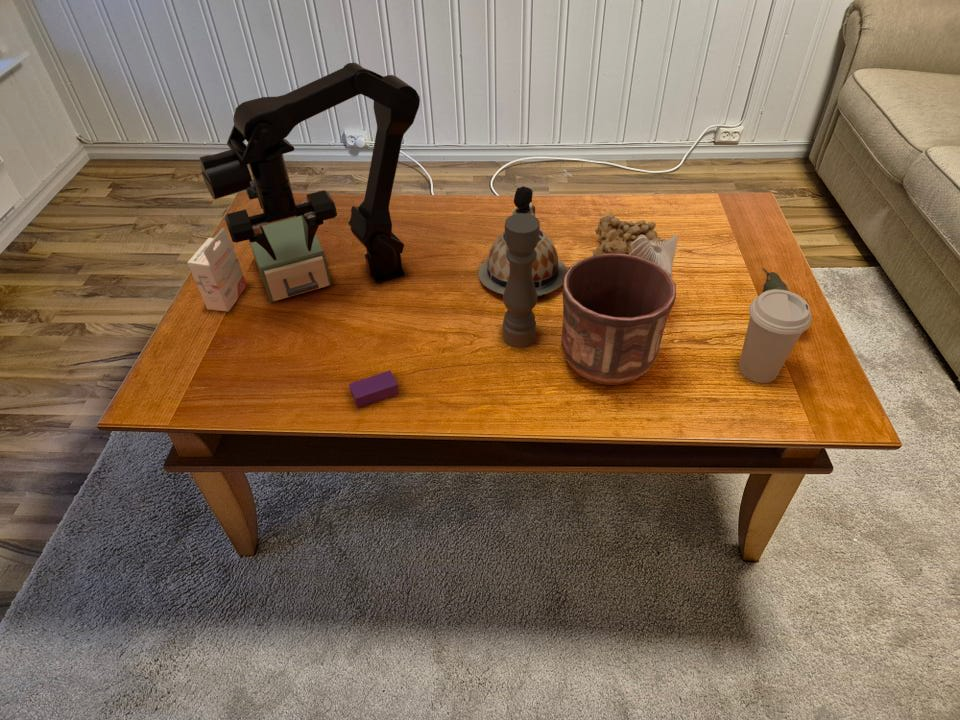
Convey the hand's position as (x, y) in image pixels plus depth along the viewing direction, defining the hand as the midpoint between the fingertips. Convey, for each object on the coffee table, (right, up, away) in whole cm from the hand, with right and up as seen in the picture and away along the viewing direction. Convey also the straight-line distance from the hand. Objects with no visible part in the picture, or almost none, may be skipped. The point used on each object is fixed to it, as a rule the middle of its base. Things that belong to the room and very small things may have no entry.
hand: (292, 254), depth 123 cm
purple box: (+17, -26, -9) cm, 32 cm away
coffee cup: (+84, -22, -7) cm, 87 cm away
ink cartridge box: (-16, -7, +10) cm, 21 cm away
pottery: (+58, -20, -5) cm, 62 cm away
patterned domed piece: (+44, -2, +13) cm, 46 cm away
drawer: (-3, -4, +12) cm, 13 cm away
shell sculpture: (+67, -10, +5) cm, 68 cm away
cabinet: (-4, -2, +15) cm, 16 cm away
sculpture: (+93, -10, +5) cm, 93 cm away
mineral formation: (+67, +2, +17) cm, 69 cm away
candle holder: (+43, -15, 0) cm, 45 cm away
